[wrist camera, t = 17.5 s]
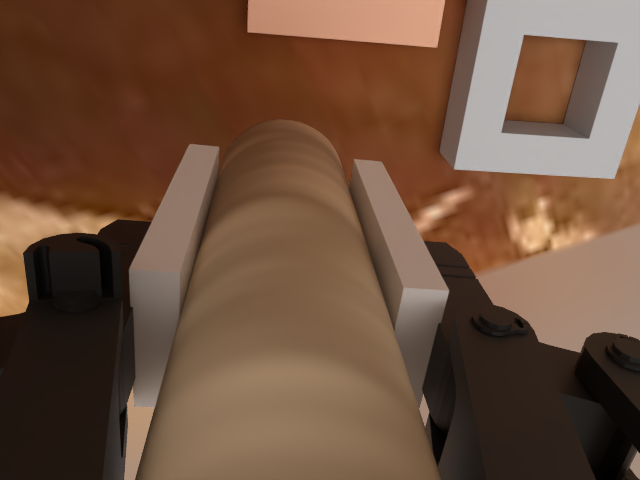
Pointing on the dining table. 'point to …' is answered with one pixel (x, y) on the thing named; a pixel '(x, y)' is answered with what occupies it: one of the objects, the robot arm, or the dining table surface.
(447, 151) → the socket grey
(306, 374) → the peg
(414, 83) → the dining table surface
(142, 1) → the dining table surface
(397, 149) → the dining table surface
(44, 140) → the dining table surface
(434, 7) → the socket terracotta
